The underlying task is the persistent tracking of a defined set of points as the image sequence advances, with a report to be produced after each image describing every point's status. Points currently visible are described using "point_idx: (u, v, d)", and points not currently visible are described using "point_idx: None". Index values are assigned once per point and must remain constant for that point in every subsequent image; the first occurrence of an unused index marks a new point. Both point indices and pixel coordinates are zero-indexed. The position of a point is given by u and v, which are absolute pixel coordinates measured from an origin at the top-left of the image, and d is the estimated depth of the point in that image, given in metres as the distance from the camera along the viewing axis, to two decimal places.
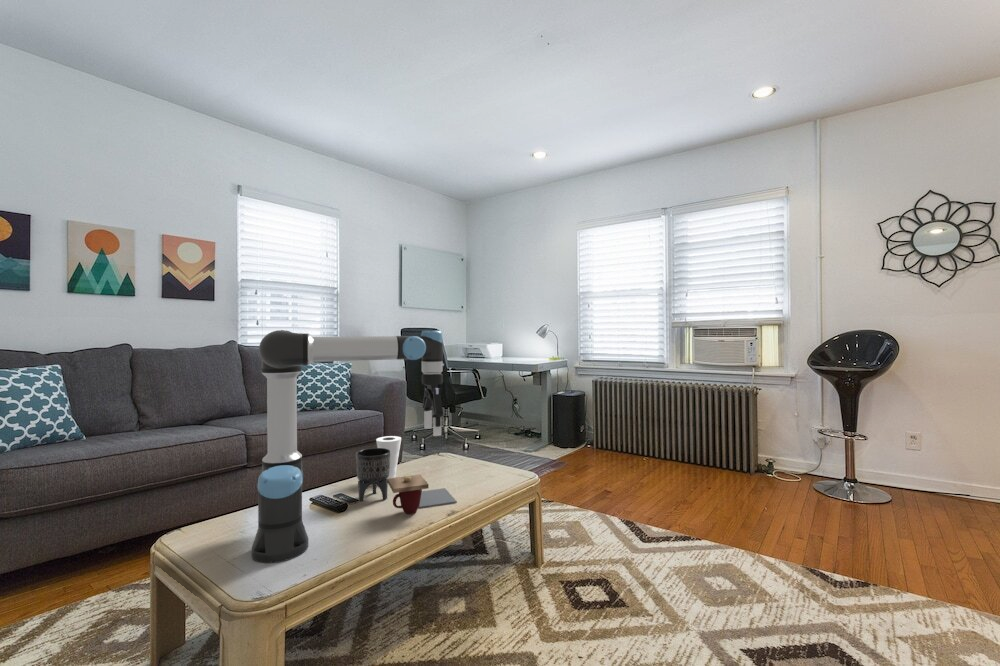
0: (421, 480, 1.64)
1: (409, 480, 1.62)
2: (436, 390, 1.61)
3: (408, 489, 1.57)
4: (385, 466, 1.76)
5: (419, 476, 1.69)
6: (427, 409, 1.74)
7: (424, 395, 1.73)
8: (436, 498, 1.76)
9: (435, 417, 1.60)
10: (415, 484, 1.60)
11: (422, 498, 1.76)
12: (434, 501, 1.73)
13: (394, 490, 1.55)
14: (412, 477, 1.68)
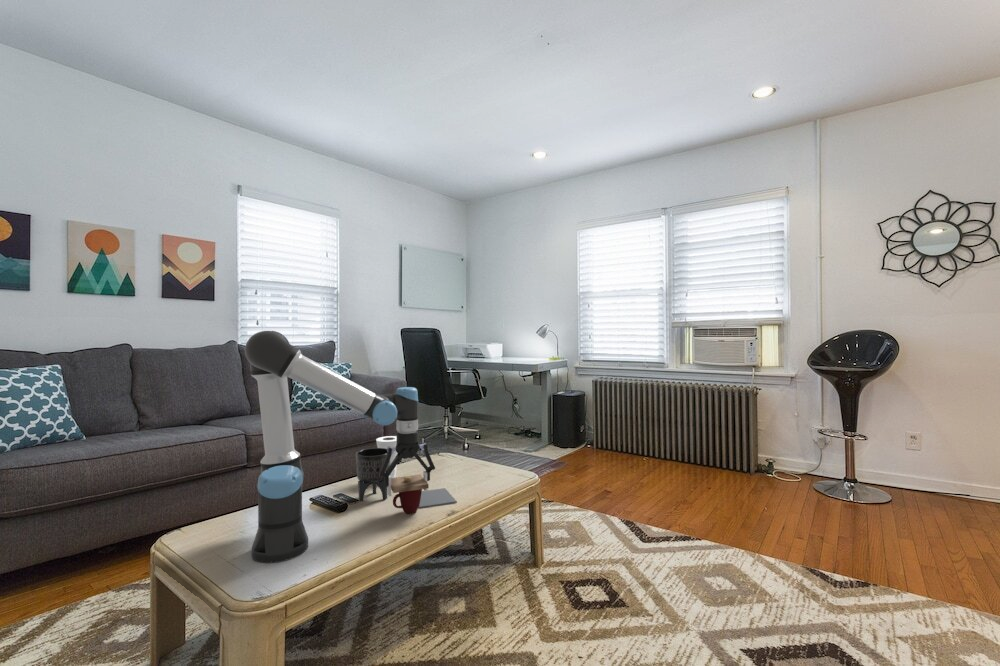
0: (421, 480, 1.64)
1: (409, 480, 1.62)
2: (387, 449, 1.61)
3: (408, 489, 1.57)
4: None
5: (419, 476, 1.69)
6: (426, 470, 1.66)
7: None
8: (436, 498, 1.76)
9: None
10: (415, 484, 1.60)
11: (422, 498, 1.76)
12: (434, 501, 1.73)
13: (394, 490, 1.55)
14: (412, 477, 1.68)
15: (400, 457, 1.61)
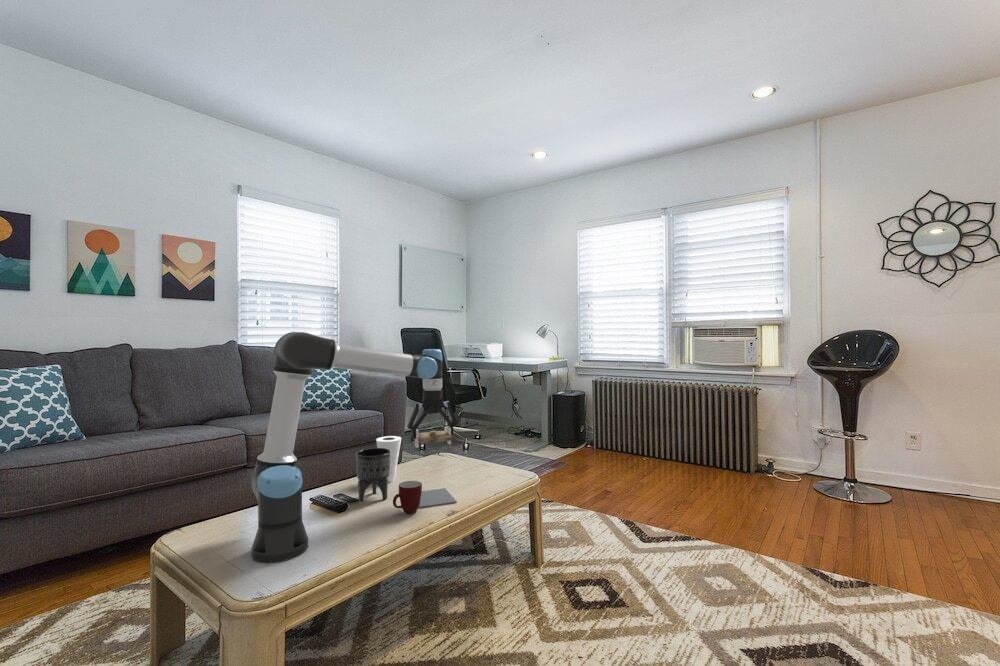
0: (445, 434, 1.79)
1: (434, 433, 1.77)
2: (415, 405, 1.76)
3: (434, 440, 1.72)
4: (385, 466, 1.76)
5: (443, 431, 1.83)
6: (449, 425, 1.81)
7: None
8: (436, 498, 1.76)
9: None
10: (440, 436, 1.75)
11: (422, 498, 1.76)
12: (434, 501, 1.73)
13: (422, 441, 1.70)
14: (436, 432, 1.82)
15: (426, 412, 1.75)
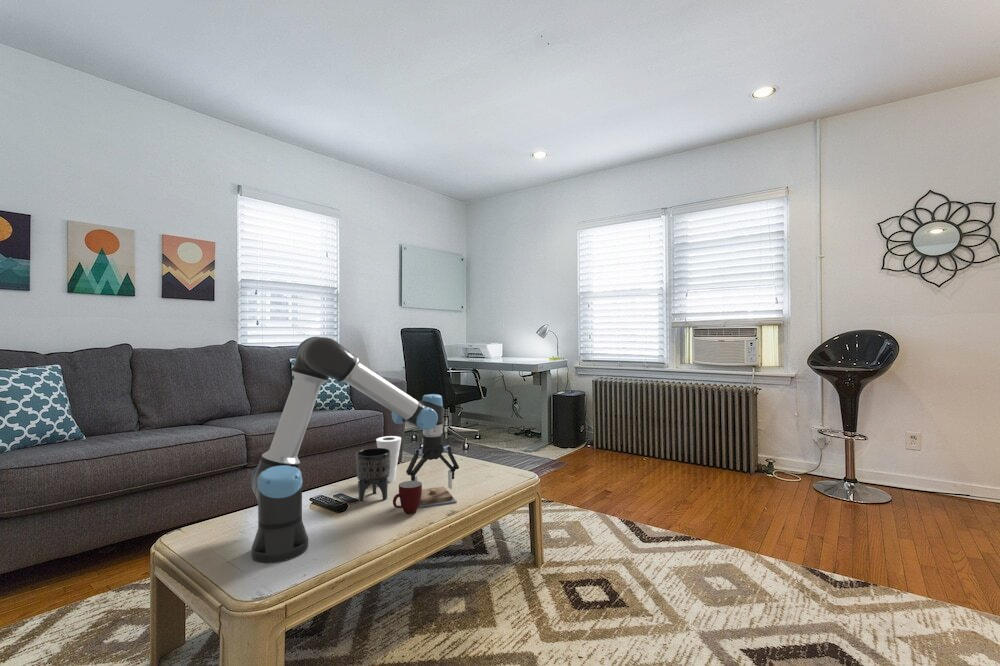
0: (445, 492, 1.79)
1: (434, 492, 1.77)
2: (415, 450, 1.76)
3: (434, 501, 1.72)
4: (385, 466, 1.76)
5: (443, 488, 1.83)
6: (450, 469, 1.81)
7: None
8: None
9: None
10: (440, 496, 1.75)
11: None
12: None
13: (422, 502, 1.70)
14: (436, 489, 1.82)
15: (426, 458, 1.75)
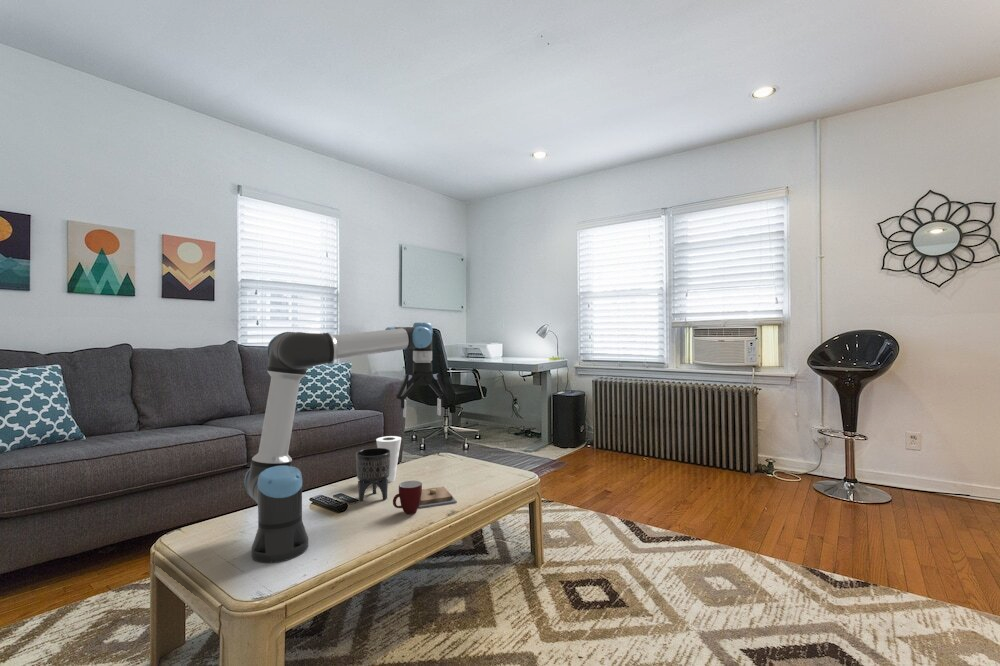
0: (445, 492, 1.79)
1: (434, 492, 1.77)
2: (404, 376, 1.79)
3: (434, 501, 1.72)
4: (385, 466, 1.76)
5: (443, 488, 1.83)
6: None
7: (439, 383, 1.85)
8: None
9: None
10: (440, 496, 1.75)
11: None
12: None
13: (422, 502, 1.70)
14: (436, 489, 1.82)
15: (415, 383, 1.79)
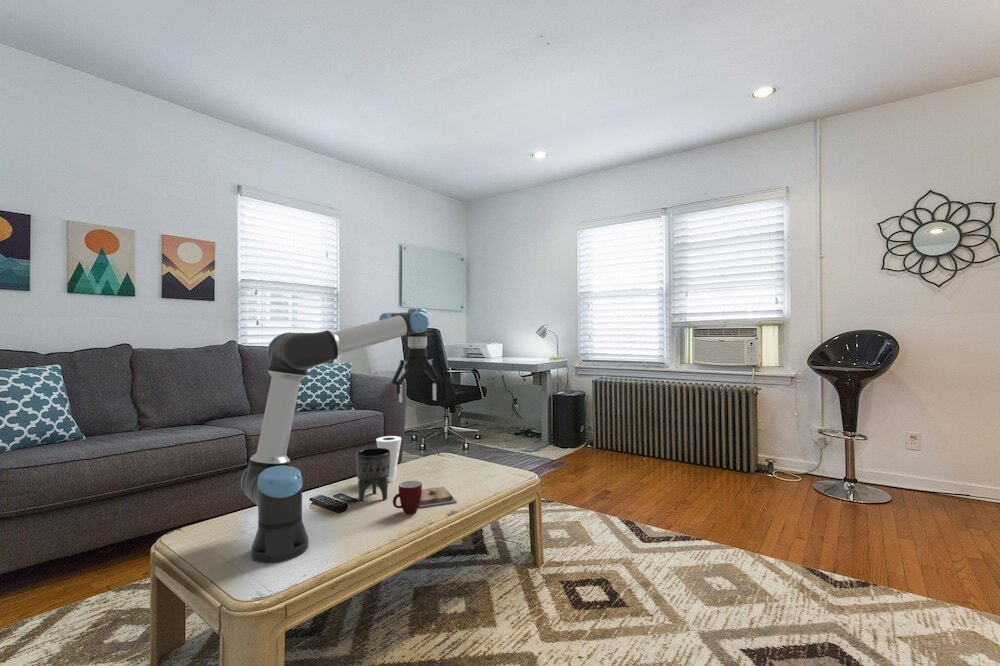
0: (445, 492, 1.79)
1: (434, 492, 1.77)
2: (400, 361, 1.81)
3: (434, 501, 1.72)
4: (385, 466, 1.76)
5: (443, 488, 1.83)
6: (435, 382, 1.87)
7: None
8: None
9: None
10: (440, 496, 1.75)
11: None
12: None
13: (422, 502, 1.70)
14: (436, 489, 1.82)
15: (411, 369, 1.81)
